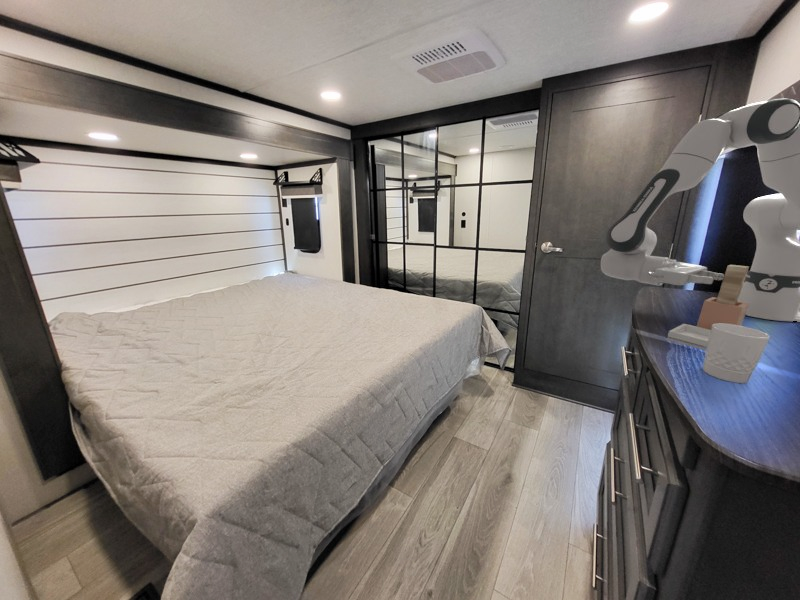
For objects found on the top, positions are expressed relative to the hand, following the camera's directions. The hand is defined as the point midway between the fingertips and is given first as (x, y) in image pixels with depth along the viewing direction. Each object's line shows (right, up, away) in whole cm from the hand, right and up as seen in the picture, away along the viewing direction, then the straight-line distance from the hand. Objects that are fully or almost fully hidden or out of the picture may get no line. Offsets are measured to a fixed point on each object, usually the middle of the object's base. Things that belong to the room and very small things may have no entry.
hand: (718, 279), depth 86 cm
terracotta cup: (+1, -15, +2) cm, 15 cm away
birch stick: (+1, -14, +1) cm, 14 cm away
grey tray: (-10, -17, -6) cm, 21 cm away
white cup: (-21, -22, -22) cm, 37 cm away
